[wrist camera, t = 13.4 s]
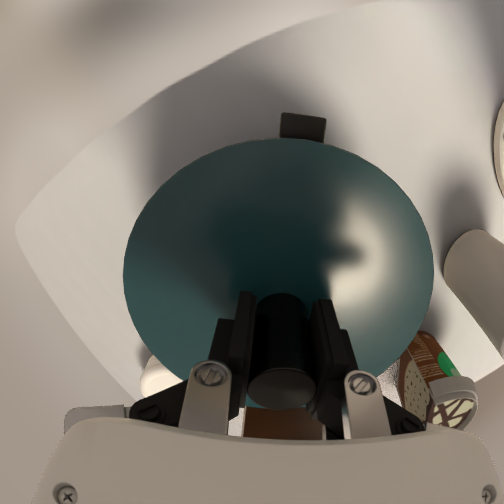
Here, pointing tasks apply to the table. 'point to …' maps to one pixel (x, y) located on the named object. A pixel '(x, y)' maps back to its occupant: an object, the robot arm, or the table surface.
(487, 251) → the beverage can
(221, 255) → the lid
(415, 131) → the table surface
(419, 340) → the food container
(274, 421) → the stand
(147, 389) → the white short cylinder
